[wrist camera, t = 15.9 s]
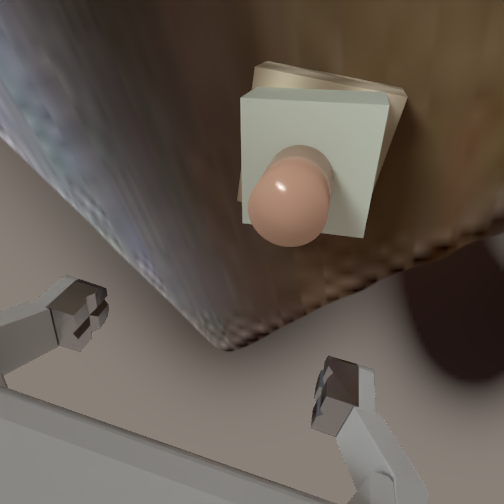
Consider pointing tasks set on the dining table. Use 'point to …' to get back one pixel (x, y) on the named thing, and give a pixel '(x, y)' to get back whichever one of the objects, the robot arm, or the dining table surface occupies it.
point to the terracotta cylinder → (292, 197)
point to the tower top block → (317, 143)
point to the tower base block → (312, 79)
